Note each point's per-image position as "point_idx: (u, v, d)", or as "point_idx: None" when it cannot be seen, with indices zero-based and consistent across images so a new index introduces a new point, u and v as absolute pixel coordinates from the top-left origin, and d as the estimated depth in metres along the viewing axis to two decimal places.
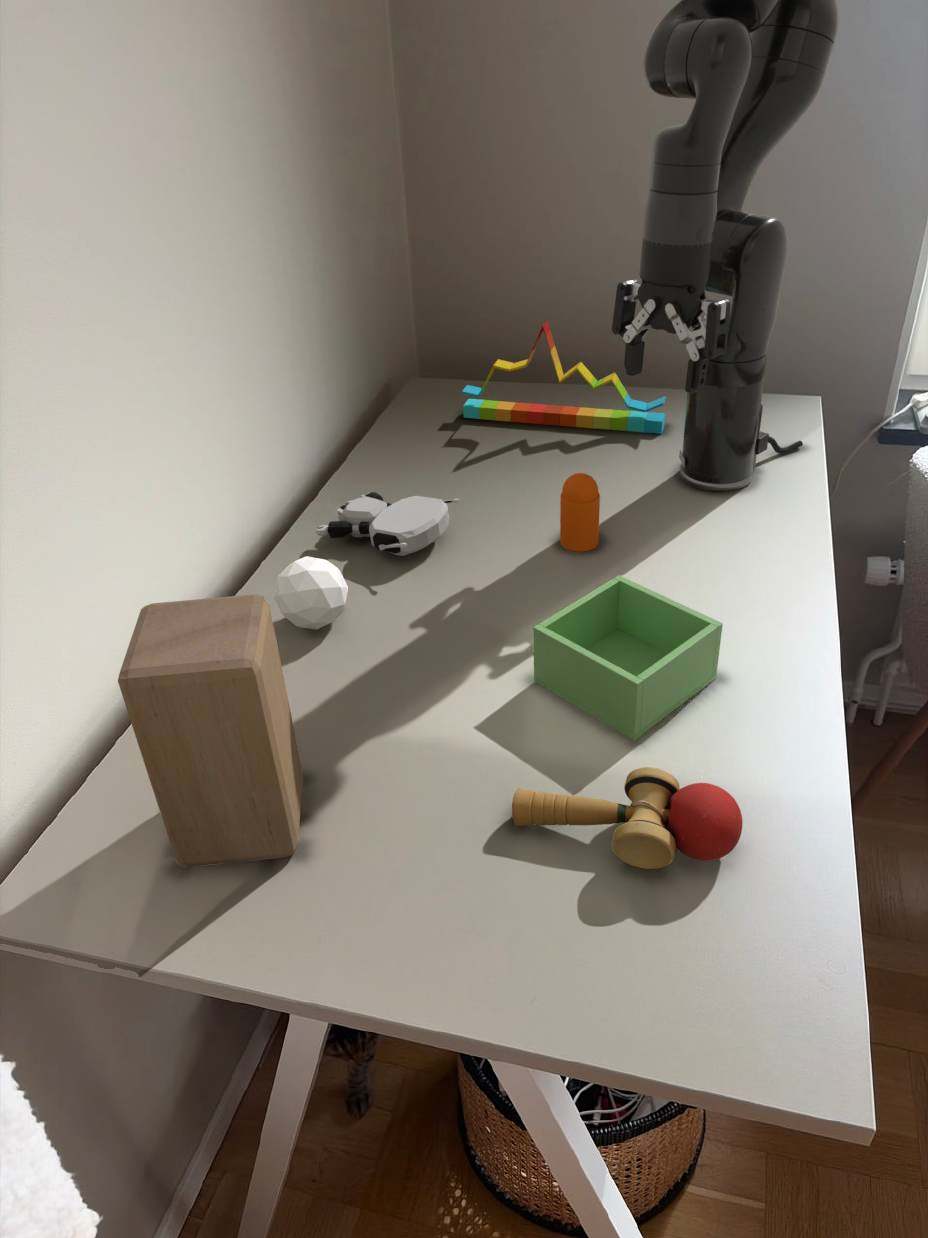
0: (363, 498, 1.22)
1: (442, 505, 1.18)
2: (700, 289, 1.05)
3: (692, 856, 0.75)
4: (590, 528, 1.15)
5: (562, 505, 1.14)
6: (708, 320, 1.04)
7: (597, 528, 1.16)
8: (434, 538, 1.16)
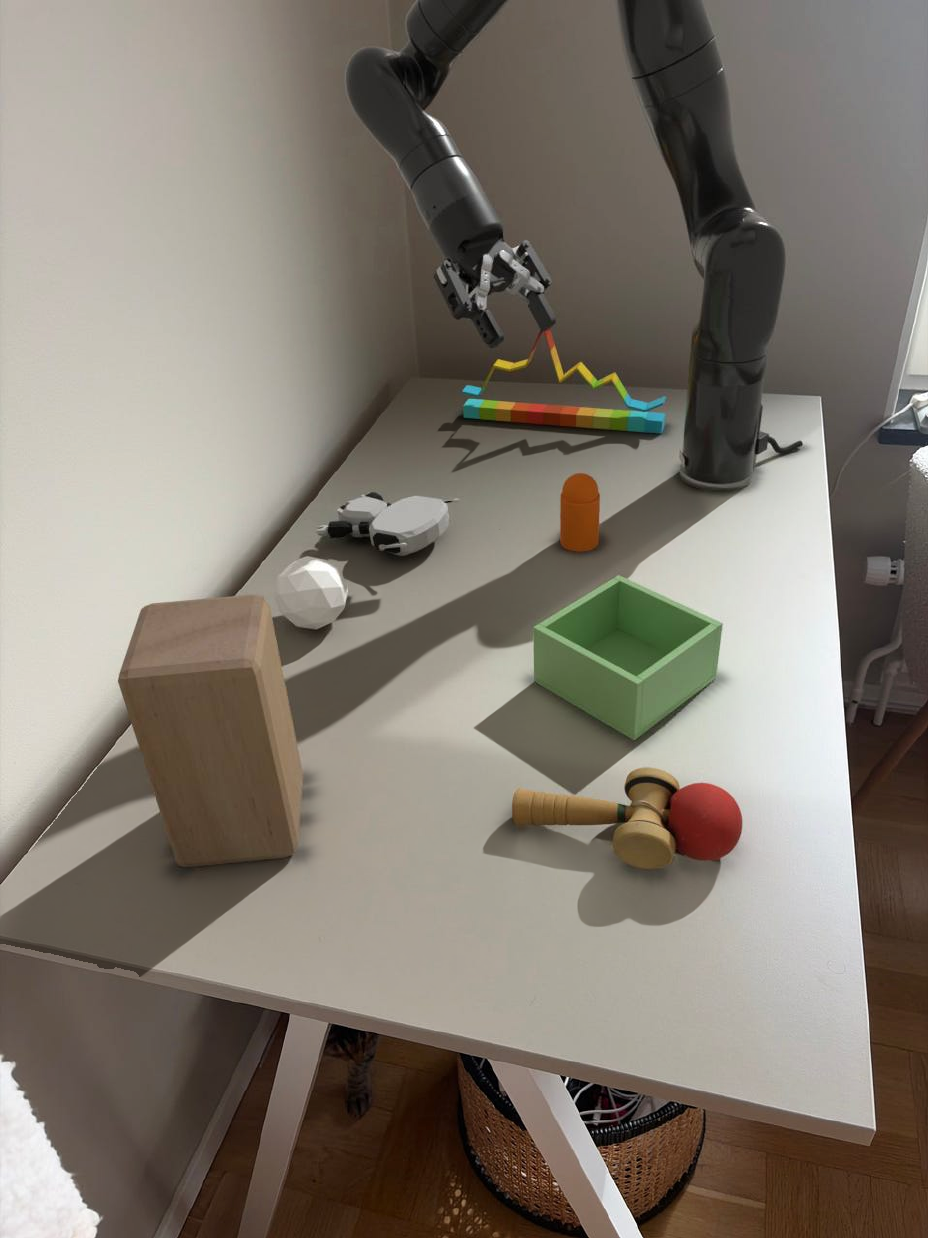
0: (363, 498, 1.22)
1: (442, 505, 1.18)
2: (452, 256, 1.09)
3: (692, 856, 0.75)
4: (590, 528, 1.15)
5: (562, 505, 1.14)
6: None
7: (597, 528, 1.16)
8: (434, 538, 1.16)
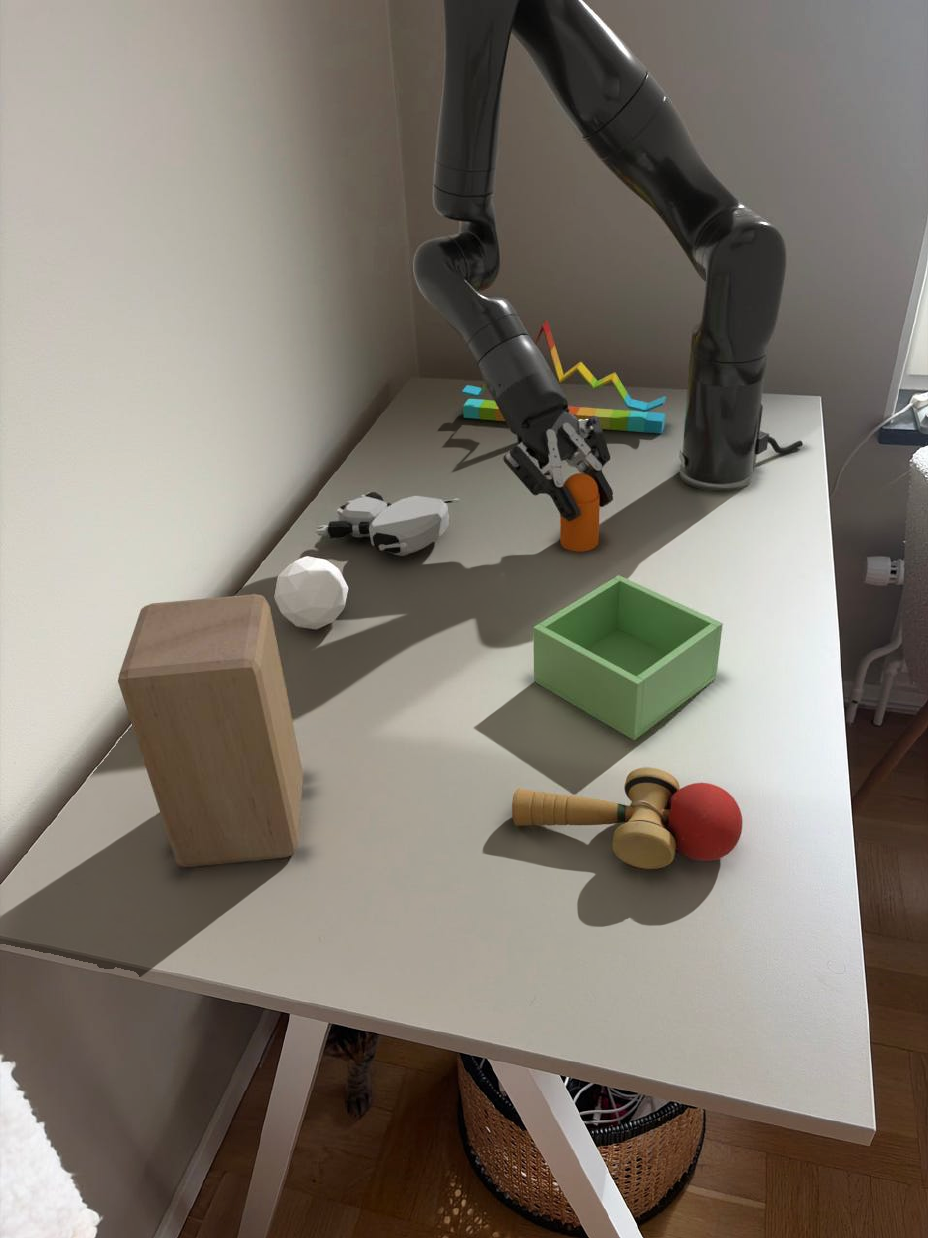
0: (363, 498, 1.22)
1: (442, 505, 1.18)
2: (517, 431, 1.13)
3: (692, 856, 0.75)
4: (590, 528, 1.15)
5: None
6: None
7: (597, 528, 1.16)
8: (434, 538, 1.16)
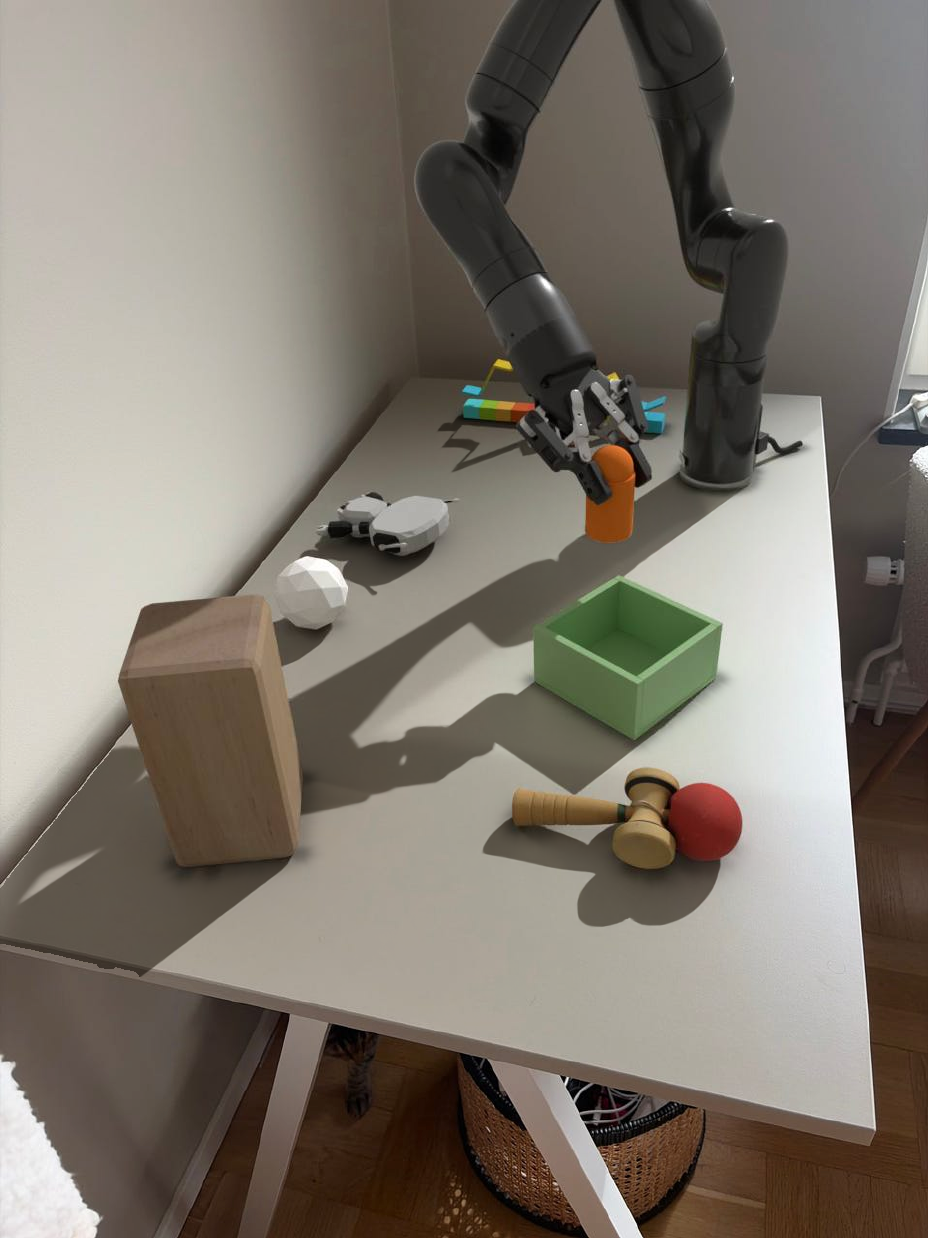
0: (363, 498, 1.22)
1: (442, 505, 1.18)
2: (534, 392, 0.91)
3: (692, 856, 0.75)
4: (623, 513, 0.93)
5: None
6: None
7: (631, 514, 0.94)
8: (434, 538, 1.16)
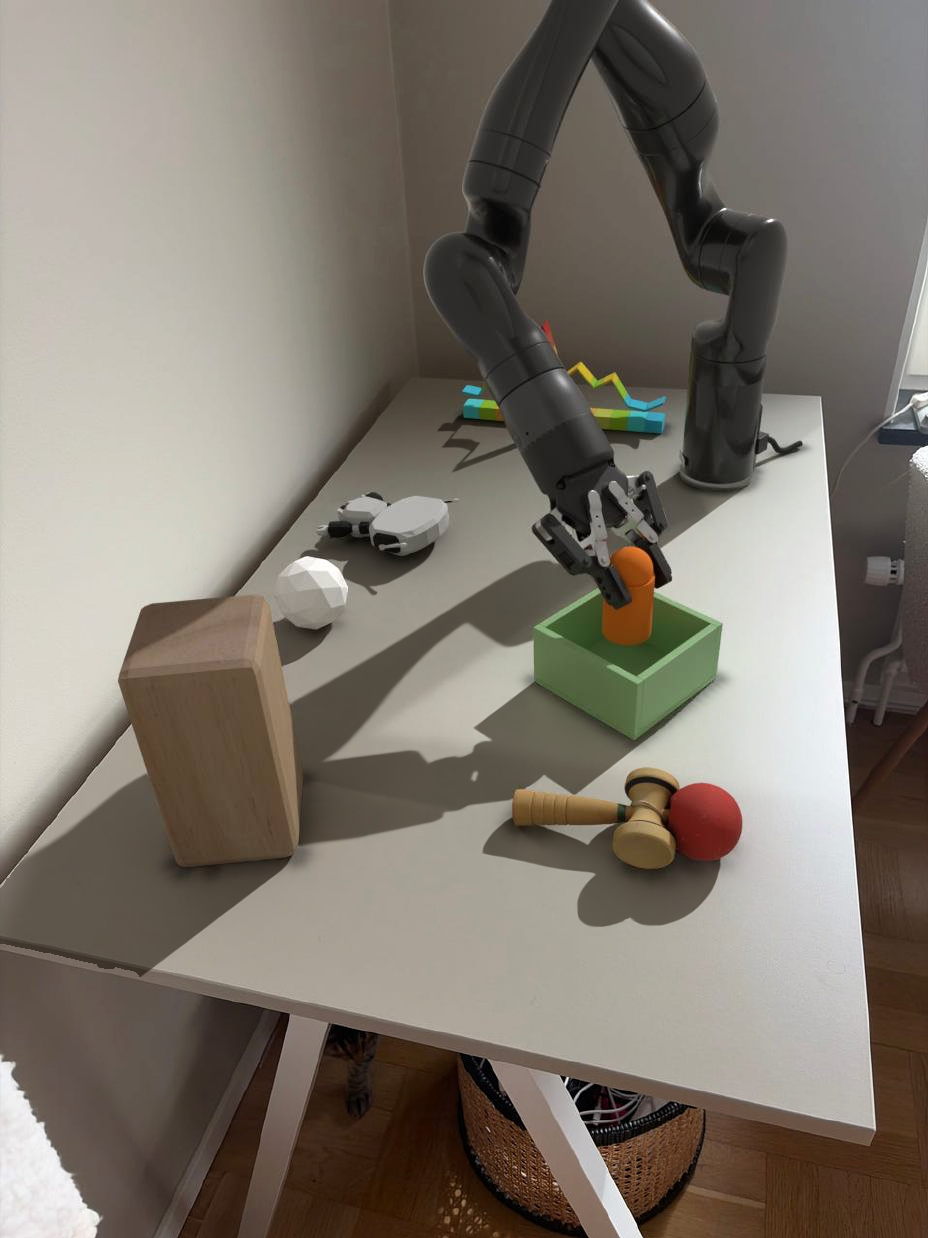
0: (363, 498, 1.22)
1: (442, 505, 1.18)
2: (549, 493, 0.87)
3: (692, 856, 0.75)
4: (642, 617, 0.89)
5: None
6: None
7: (650, 616, 0.90)
8: (434, 538, 1.16)
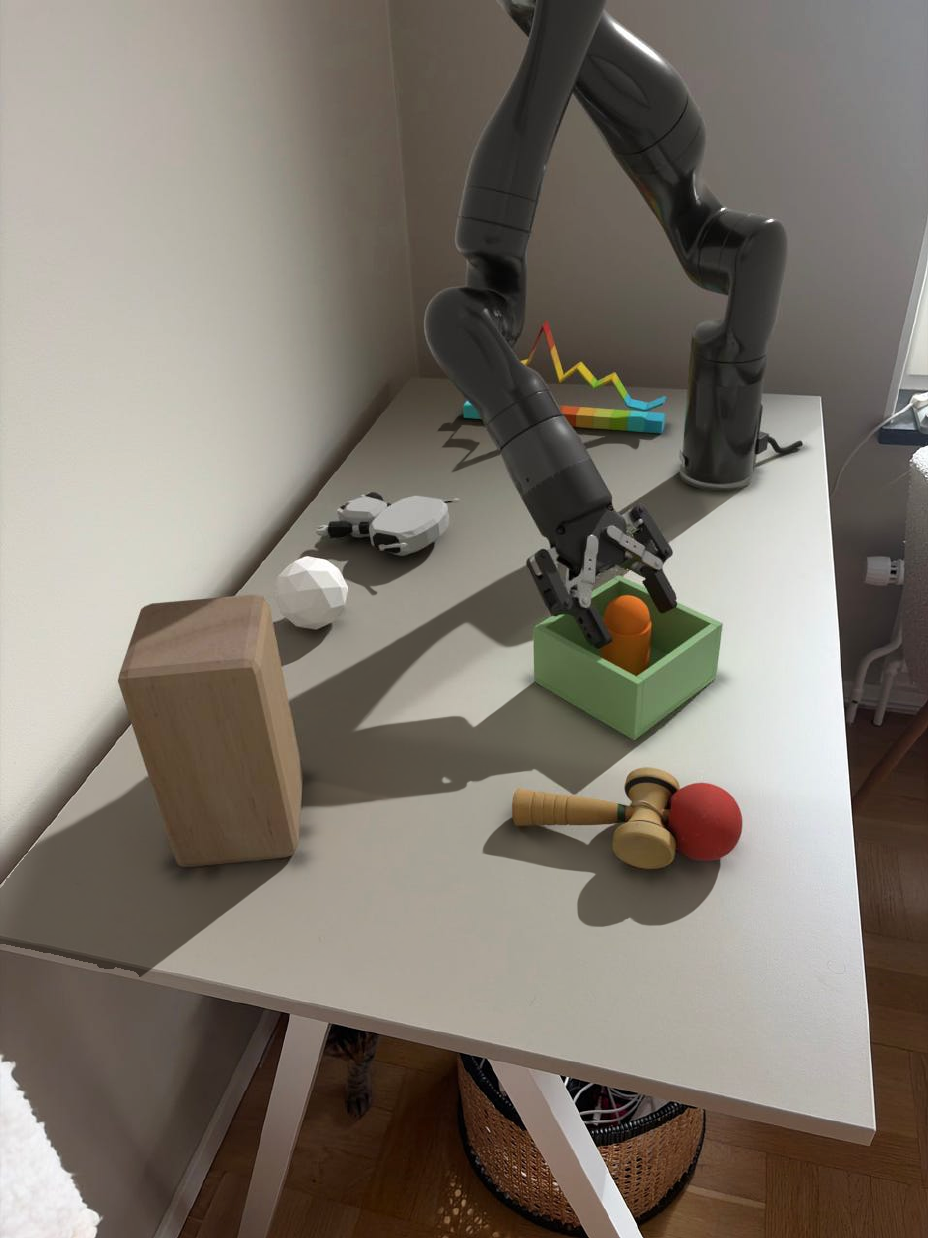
0: (363, 498, 1.22)
1: (442, 505, 1.18)
2: (549, 537, 0.90)
3: (692, 856, 0.75)
4: (639, 663, 0.92)
5: None
6: None
7: (647, 661, 0.93)
8: (434, 538, 1.16)
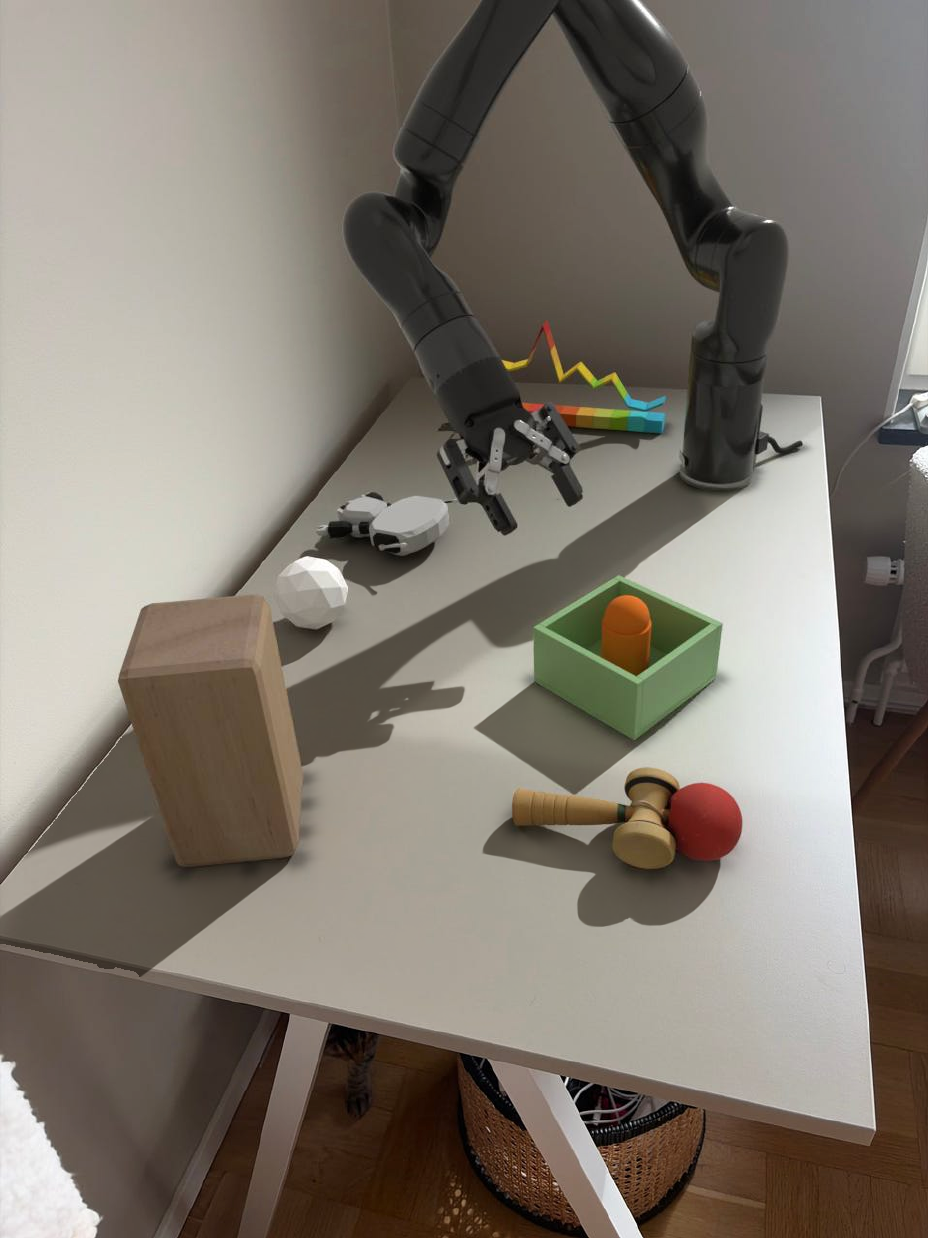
0: (363, 498, 1.22)
1: (442, 505, 1.18)
2: (459, 430, 0.95)
3: (692, 856, 0.75)
4: (639, 663, 0.92)
5: (604, 635, 0.92)
6: None
7: (647, 661, 0.93)
8: (434, 538, 1.16)
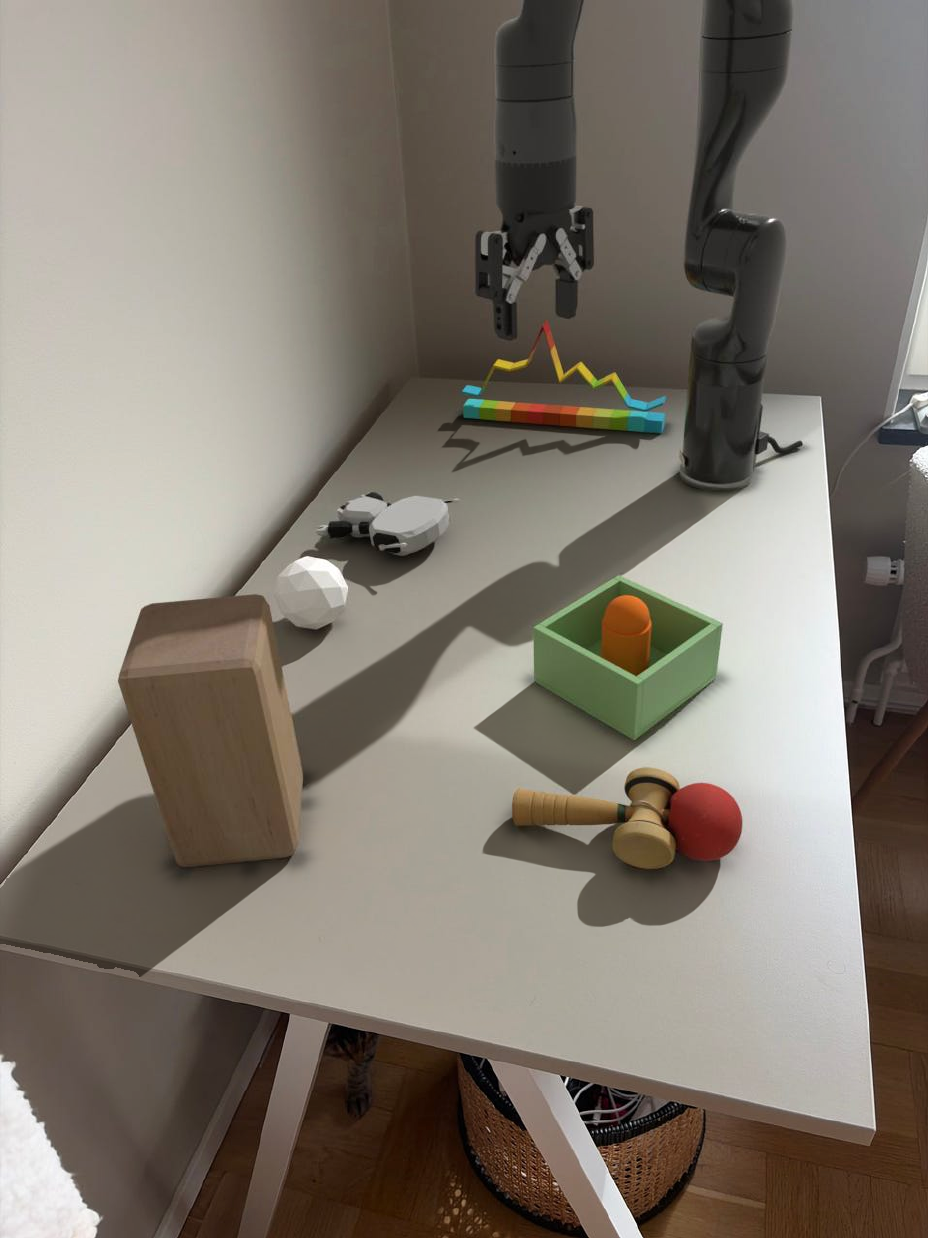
0: (363, 498, 1.22)
1: (442, 505, 1.18)
2: (506, 217, 0.90)
3: (692, 856, 0.75)
4: (639, 663, 0.92)
5: (604, 635, 0.92)
6: None
7: (647, 661, 0.93)
8: (434, 538, 1.16)
